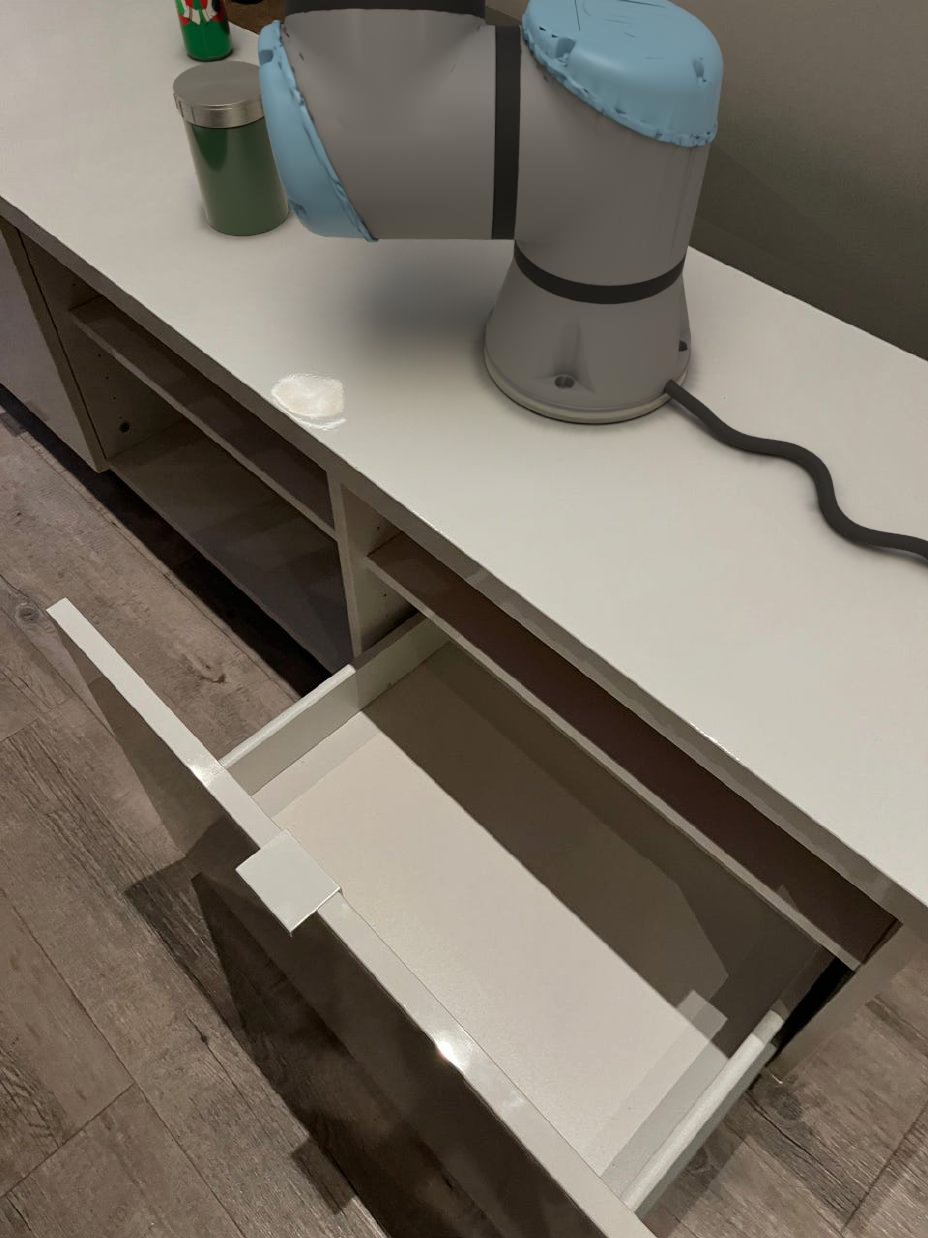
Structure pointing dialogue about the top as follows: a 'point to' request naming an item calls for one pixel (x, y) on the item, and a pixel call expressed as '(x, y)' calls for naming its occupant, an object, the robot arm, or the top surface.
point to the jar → (237, 177)
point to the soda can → (204, 28)
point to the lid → (219, 94)
